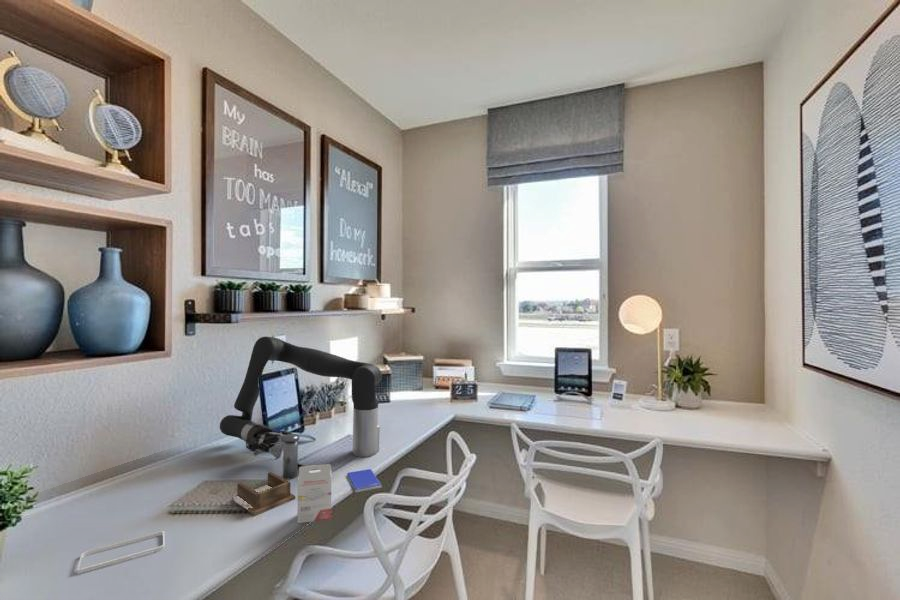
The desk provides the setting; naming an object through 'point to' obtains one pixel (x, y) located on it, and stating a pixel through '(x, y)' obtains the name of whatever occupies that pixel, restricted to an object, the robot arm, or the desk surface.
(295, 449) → the pin
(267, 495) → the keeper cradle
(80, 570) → the rectangular frame
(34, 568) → the desk surface
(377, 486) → the hard drive
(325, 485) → the ink cartridge box
